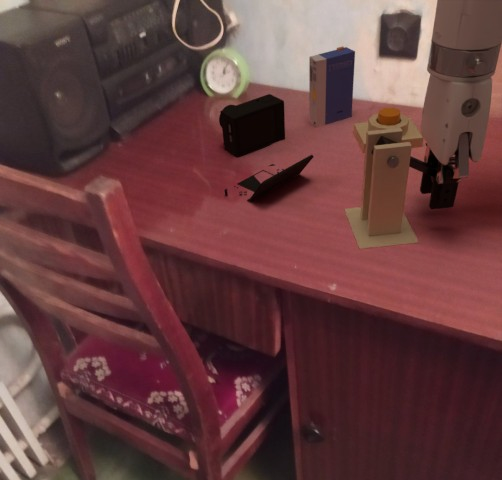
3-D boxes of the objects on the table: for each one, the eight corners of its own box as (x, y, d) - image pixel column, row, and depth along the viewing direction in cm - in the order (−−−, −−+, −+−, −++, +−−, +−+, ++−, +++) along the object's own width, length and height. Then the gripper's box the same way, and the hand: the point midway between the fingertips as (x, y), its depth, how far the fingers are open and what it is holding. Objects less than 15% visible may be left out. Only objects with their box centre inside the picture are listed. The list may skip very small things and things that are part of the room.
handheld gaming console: (261, 156, 96) (286, 120, 87) (292, 187, 97) (320, 155, 88) (218, 196, 91) (240, 163, 82) (251, 229, 92) (277, 199, 83)
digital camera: (267, 129, 107) (266, 90, 103) (285, 139, 104) (284, 100, 99) (220, 146, 104) (216, 108, 99) (237, 157, 100) (233, 118, 95)
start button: (396, 116, 100) (397, 106, 99) (401, 125, 98) (403, 115, 97) (375, 118, 100) (376, 108, 99) (380, 127, 98) (381, 117, 97)
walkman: (343, 112, 110) (346, 44, 102) (351, 117, 109) (355, 49, 100) (307, 122, 108) (307, 54, 100) (315, 128, 106) (316, 59, 98)
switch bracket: (398, 209, 85) (409, 117, 76) (418, 249, 78) (433, 153, 69) (343, 215, 85) (348, 124, 76) (358, 255, 78) (365, 160, 69)
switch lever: (442, 184, 79) (456, 163, 77) (450, 196, 77) (465, 175, 75) (368, 152, 75) (381, 130, 73) (374, 164, 73) (388, 142, 71)
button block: (408, 126, 104) (411, 107, 102) (422, 147, 99) (425, 127, 96) (353, 132, 104) (354, 113, 102) (363, 153, 98) (364, 133, 96)
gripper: (526, 81, 60) (486, 231, 73) (469, 31, 72) (443, 168, 85) (454, 87, 60) (427, 236, 73) (410, 36, 72) (392, 172, 85)
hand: (436, 198), depth 79 cm, fingers closed on switch lever, 3 cm apart
